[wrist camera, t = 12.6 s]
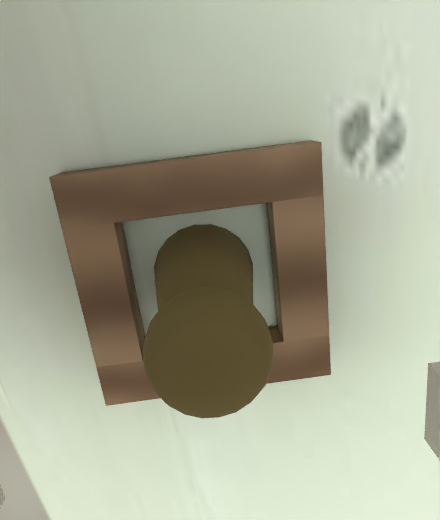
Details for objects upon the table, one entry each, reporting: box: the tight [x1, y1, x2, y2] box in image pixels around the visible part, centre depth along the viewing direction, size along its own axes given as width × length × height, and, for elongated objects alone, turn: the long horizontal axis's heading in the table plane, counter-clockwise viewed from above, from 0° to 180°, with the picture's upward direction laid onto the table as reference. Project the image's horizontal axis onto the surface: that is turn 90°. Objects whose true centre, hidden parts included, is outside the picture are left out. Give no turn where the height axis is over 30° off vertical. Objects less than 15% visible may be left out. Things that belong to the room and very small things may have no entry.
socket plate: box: [49, 141, 331, 406], centre depth 25 cm, size 14×14×2 cm
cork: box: [143, 224, 273, 418], centre depth 21 cm, size 6×6×11 cm
